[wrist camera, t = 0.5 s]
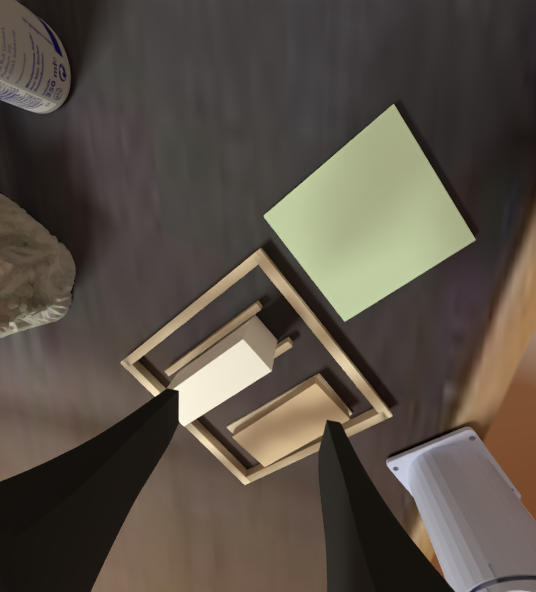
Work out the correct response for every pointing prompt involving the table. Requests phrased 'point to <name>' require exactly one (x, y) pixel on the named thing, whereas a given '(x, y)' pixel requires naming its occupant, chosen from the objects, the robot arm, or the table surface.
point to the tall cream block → (224, 369)
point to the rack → (263, 260)
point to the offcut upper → (290, 422)
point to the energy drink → (31, 61)
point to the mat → (370, 217)
